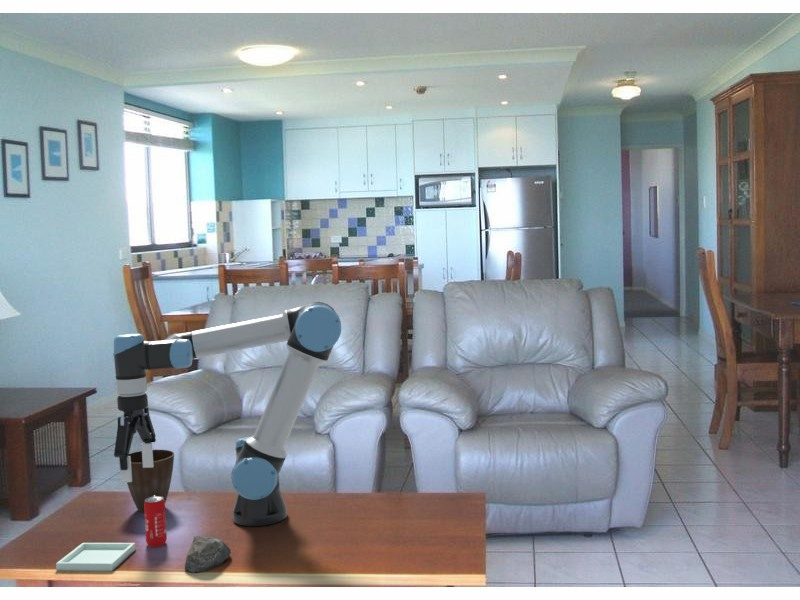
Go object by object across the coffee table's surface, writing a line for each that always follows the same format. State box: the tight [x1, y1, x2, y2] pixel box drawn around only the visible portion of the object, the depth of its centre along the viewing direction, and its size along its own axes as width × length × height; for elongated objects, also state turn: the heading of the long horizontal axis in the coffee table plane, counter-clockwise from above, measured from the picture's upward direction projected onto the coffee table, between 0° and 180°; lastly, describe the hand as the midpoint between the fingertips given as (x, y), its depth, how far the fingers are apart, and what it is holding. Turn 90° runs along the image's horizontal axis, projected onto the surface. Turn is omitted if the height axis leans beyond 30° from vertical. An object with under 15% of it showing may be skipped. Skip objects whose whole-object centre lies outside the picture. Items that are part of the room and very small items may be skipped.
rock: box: [184, 535, 232, 574], centre depth 209 cm, size 13×9×6 cm, turn 171°
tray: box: [55, 542, 137, 572], centre depth 214 cm, size 14×14×2 cm
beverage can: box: [144, 496, 167, 548], centre depth 223 cm, size 5×5×12 cm
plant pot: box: [126, 449, 175, 514], centre depth 253 cm, size 15×15×16 cm
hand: (137, 474), depth 224 cm, fingers open, 13 cm apart
